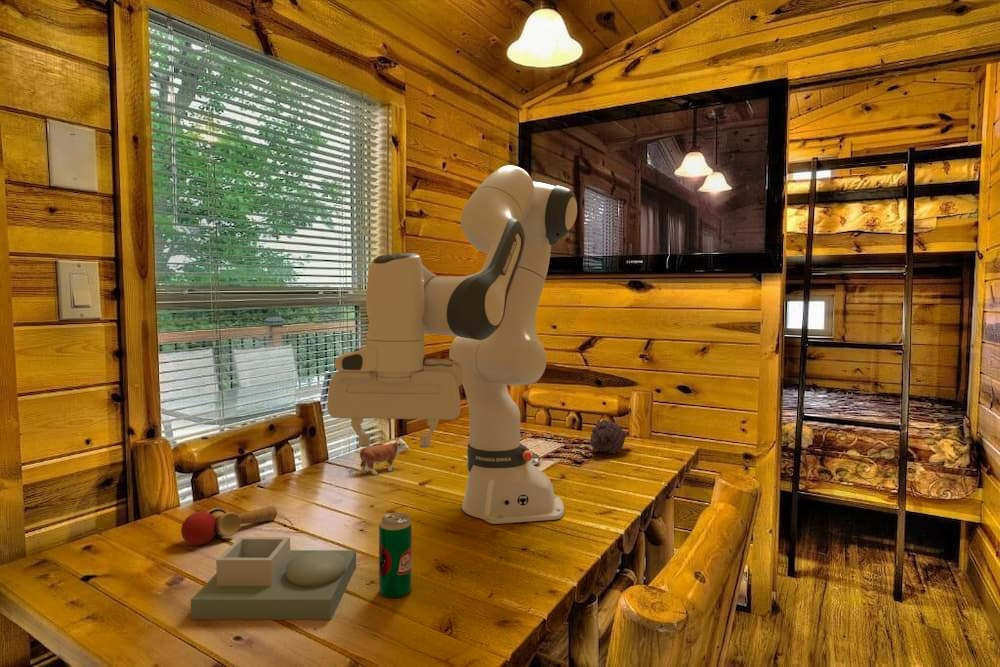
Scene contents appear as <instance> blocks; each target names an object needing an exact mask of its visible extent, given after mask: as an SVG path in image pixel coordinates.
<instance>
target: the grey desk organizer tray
mask: <svg viewBox="0 0 1000 667" xmlns="http://www.w3.org/2000/svg"><path fill="white" fill-rule="evenodd" d="M215 562H216V564H215V566H216V570H215V571H216V573H215V574H214V575H212V577H211V578H210V579H209V580H208V581H207V582H206V583H205V584H204V585H203V586H202V587H201V589H199V590H198V591H197V593H195V595H194V596H192V597H191V598H190V618H191V620H192V621H193V620H195V621H196V620H198V621H199V620H202V621H203V620H206V621H207V620H208V621H209V620H210V621H211V620H212V621H213V620H215V621H216V620H217V621H218V620H220V621H221V620H226V621H227V620H228V621H229V620H231V621H232V620H233V621H235V620H236V621H237V620H243V621H245V620H246V621H248V620H252V621H253V620H255V621H258V620H259V621H260V620H261V621H262V620H267V621H268V620H269V621H271V620H274V621H275V620H277V621H279V620H280V621H281V620H282V621H283V620H284V621H285V620H286V621H287V620H288V621H290V620H292V621H293V620H295V621H297V620H299V621H300V620H302V621H303V620H309V621H310V620H313V621H316V620H317V621H319V620H320V621H325V620H326V621H327V620H332V618H333V617H334V615H335V613H336V610H337V608H338V606H339V605H340V602H341V600H342V598H343V597H344V596H343V595H344V593H345V591H346V589H347V587H348V585H349V583H350V581H351V579H352V577H353V575H354V573H355V571H356V569H357V550H354V549H353V550H350V549H349V550H348V549H346V550H345V549H344V550H339V549H338V550H337V549H336V550H331V549H330V550H328V549H327V550H326V549H325V550H321V549H320V550H319V549H318V550H314V549H309V550H307V549H306V550H303V549H302V550H301V549H299V550H298V549H296V550H295V549H293V550H292V549H291V537H289V536H239V537H238V538H237V539H236V540H235V541H234V542H233V543H232V544H231V545H229V547H228V548H226V550H225V551H224V552H223V553H222V554H221V555H219V557H218V558H217V559H215Z"/></svg>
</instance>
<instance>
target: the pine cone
mask: <svg viewBox="0 0 1000 667" xmlns="http://www.w3.org/2000/svg"><path fill="white" fill-rule="evenodd" d="M629 435H630V431H627V430H623V428H622V427H621V426H620V425H618V423H616V422H613V421H612V420H606V419H604V420H602V421H601V422H599V421H598V422H596V424H595V427H593V428H592V429H591V434H590V438H589V440H590V441H589V443H590V445H591V447H592V448H593V450H594V451H595V450H596V451H599V452H605V453H608V454H616V453H617V452H618V453H620V452H621V451H622V449H623V447H624V444H625V440H626V438H627V437H628V436H629Z"/></svg>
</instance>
